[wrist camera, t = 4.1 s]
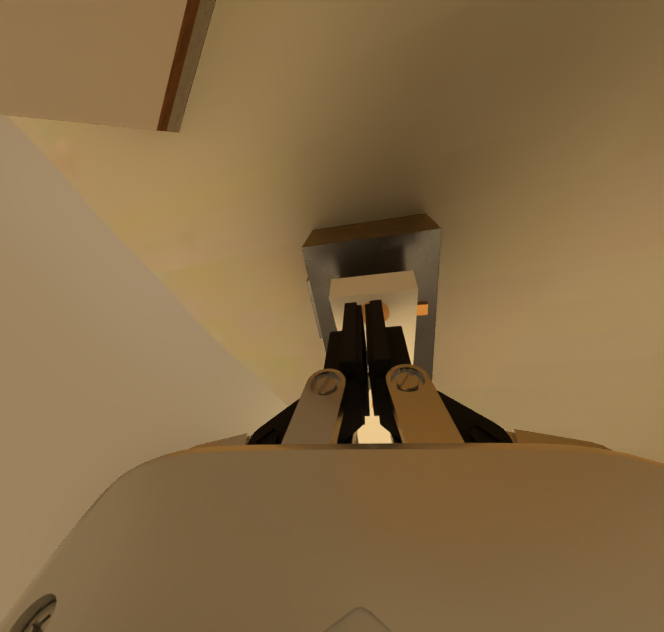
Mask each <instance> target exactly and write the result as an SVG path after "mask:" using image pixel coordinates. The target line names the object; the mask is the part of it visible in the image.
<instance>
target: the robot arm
mask: <svg viewBox="0 0 664 632" xmlns="http://www.w3.org/2000/svg"><path fill="white" fill-rule="evenodd" d="M369 303H370V304H365V317H366V339H365V330H364V322H363V314H362V306H361V305H357V302H352V303H345V305H344V316H343V326H342V331H332V332H330V335H329V341H328V347H327V353H326V359H325V365H324V369H323V370H319V371H317V372H315V373H314V374H313V375H312V376H310V378H309V379H308V381H307V383H306V385H305V388H304V390H303V393H302V395H301V397H300V399H298V400H297V401H295V402H294V403H293V404H291V405H290V406H289V407H287V408H286V409H285V410H283V411H282V412H280V413H279V414H278V415H276V416H275V417H274V418H272V419H271V420H270V421H268V422H267V423H266V424H264V425H263V426H262V427H260V428H259V429H258V430H257V431H256V432H254V434H253V435H251V436H248V434H247V433H246V434H242V435H238V436H234V437H230V438H226V439H221V440H217V441H213V442H209V443H205V444H201V445H197V446H194V447H192V448H190V449H187V450H181V451H177V452H173V453H169V454H166V455H163V456H160V457H157V458H155V459H152V460H149V461H147V462H145V463H143V464H140V465H138V466H136V467H135V468H133V469H131V470H129V471H127V472H126V473H125V474H123V475H122V476H120V477H119V478H118V479H117V480H116V481H115V482H113V483H112V484H111V485H110V486H109V487H108V488H107V489H106V490H105V491H104V492H103V493H102V495H101V496H100V497H99V498H98V499H97V500H96V501H95V502H94V504H93V505H92V506H91V507H90V508H89V509H88V511H87V512H86V513H85V514H84V515H83V517H82V518H81V519H80V520H79V522H78V523H77V524H76V525H75V527H74V528H73V529H72V530H71V531H70V533H69V534H68V535H67V536H66V538H65V539H64V540H63V541H62V543H61V544H60V545H59V546H58V548H57V549H56V551H55V552H54V553H53V554H52V556H51V557H50V558H49V560H48V561H47V562H46V563H45V565H44V566H43V567H42V569H41V570H40V571H39V573H38V574H37V575H36V577H35V578H34V579H33V580H32V582H31V583H30V584H29V586H28V587H27V588H26V589H25V591H24V592H23V594H22V595H21V596H20V597H19V599H18V600H17V601H16V603H15V604H14V606H13V607H12V608H11V609H10V611H9V612H8V614H7V615H6V616H5V618H4V619H3V620H2V622H1V623H0V632H664V464H663V463H660V462H656V461H653V460H649V459H645V458H642V457H638V456H635V455H631V454H627V453H621V452H616V451H613V450H611V449H609V448H607V447H605V446H603V445H599V444H596V443H593V442H588V441H582V440H576V439H570V438H564V437H558V436H553V435H547V434H541V433H535V432H529V431H523V430H517V429H514V430H513V432H508V431H505V430H504V429H503V428H501V427H500V426H498V425H497V424H496V423H494V422H492V421H490V420H489V419H487V418H485V417H483V416H482V415H480V414H478V413H476V412H474V411H473V410H471V409H469V408H467V407H466V406H464V405H462V404H460V403H459V402H457V401H455V400H453V399H451V398H450V397H448V396H446V395H444V394H443V393H441V392H439V391H437V390H436V388H435V386H434V385H433V383H432V381H431V379H430V377H429V375H428V374H427V373H426V371H424V370H423V369H422V368H420V367H418V366H415V365H411V361H410V357H409V353H408V349H407V345H406V341H405V337H404V333H403V329H402V326H392V327H385V321H384V314H383V308H382V301H381V300H371V301H369ZM366 342H367V347H366ZM368 371H369V379H370V387H371V395H372V403H373V411H374V416H379V419H380V425H381V426H382V427H384V428H385V429H386V430H387V431H389V432H390V438H391V441H392V443H361V444H355V441H356V431H357V430H358V429H359V428H360V427H361V426H362V425H365V416H370V406H369V382H368Z"/></svg>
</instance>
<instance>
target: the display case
mask: <svg viewBox="0 0 664 632" xmlns="http://www.w3.org/2000/svg"><path fill="white" fill-rule="evenodd" d="M215 1H216V0H0V115H9V116H19V117H29V118H39V119H49V120H59V121H69V122H79V123H89V124H99V125H109V126H119V127H129V128H139V129H149V130H159V131H169V132H179V128H180V125H181V121H182V118H183V114H184V111H185V107H186V104H187V100H188V97H189V93H190V90H191V86H192V82H193V79H194V75H195V72H196V68H197V65H198V61H199V58H200V54H201V51H202V47H203V43H204V40H205V36H206V33H207V29H208V26H209V22H210V19H211V15H212V12H213V8H214V5H215Z"/></svg>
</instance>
